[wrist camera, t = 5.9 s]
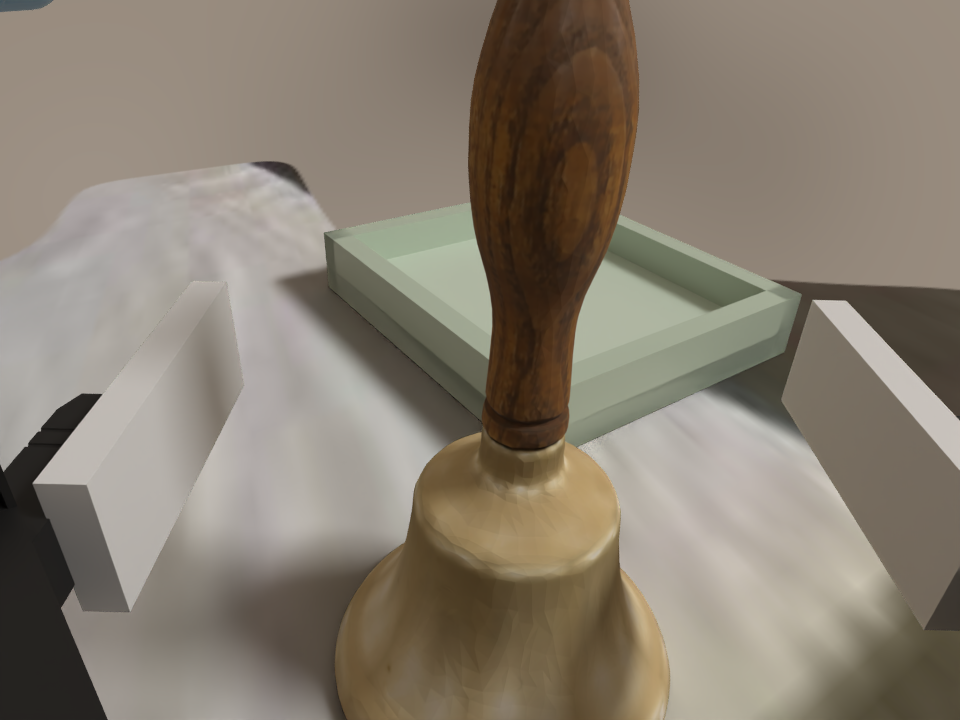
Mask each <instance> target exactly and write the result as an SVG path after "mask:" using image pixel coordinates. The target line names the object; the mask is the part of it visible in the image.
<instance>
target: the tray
mask: <svg viewBox="0 0 960 720" xmlns="http://www.w3.org/2000/svg"><path fill="white" fill-rule="evenodd" d="M324 239H325V250H326V262H327V273H328V285H329V287H330V288H331V289H332V290H333V291H334V292H335V293H336V294H338V295H339V296H340V297H341V298H342V299H343V300H344V301H346V302H347V303H348V304H349V305H350V306H351V307H352V308H353V309H355V310H356V311H357V312H358V313H359V314H360V315H361V316H363V317H364V318H365V319H366V320H367V321H368V322H369V323H371V324H372V325H373V326H374V327H375V328H376V329H377V330H378V331H380V332H381V333H382V334H383V335H384V336H385V337H386V338H388V339H389V340H390V341H391V342H392V343H393V344H394V345H395V346H397V347H398V348H399V349H400V350H401V351H402V352H403V353H405V354H406V355H407V356H408V357H409V358H410V359H411V360H412V361H414V362H415V363H416V364H417V365H418V366H419V367H420V368H422V369H423V370H424V371H425V372H426V373H427V374H428V375H429V376H431V377H432V378H433V379H434V380H435V381H436V382H437V383H439V384H440V385H441V386H442V387H443V388H444V389H445V390H446V391H448V392H449V393H450V394H451V395H452V396H453V397H454V398H456V399H457V400H458V401H459V402H460V403H461V404H462V405H463V406H465V407H466V408H467V409H468V410H469V411H470V412H471V413H473V414H474V415H475V416H476V417H477V418H478V419H479V420H481V421H482V410H483V403H484V401H485V398H486V393H485V389H486V381H487V373H488V365H489V354H490V344H491V334H492V306H491V298H490V292H489V287H488V282H487V277H486V273H485V270H484V266H483V263H482V259H481V256H480V252H479V249H478V245H477V241H476V236H475V231H474V226H473V219H472V211H471V203H466V204H461V205H456V206H451V207H446V208H442V209H437V210H432V211H427V212H422V213H417V214H412V215H408V216H403V217H398V218H393V219H388V220H384V221H378V222H373V223H369V224H364V225H359V226H354V227H349V228H344V229H339V230H335V231H330V232H325V233H324ZM801 296H802V294H800V293H798V292H795V291H793V290H791V289H788V288H786V287H784V286H782V285H779V284H777V283H775V282H772V281H770V280H768V279H766V278H763V277H761V276H759V275H756V274H754V273H752V272H750V271H747V270H745V269H743V268H740V267H738V266H736V265H733V264H731V263H729V262H726V261H724V260H722V259H720V258H717V257H715V256H713V255H710V254H708V253H706V252H704V251H701V250H699V249H697V248H695V247H692V246H690V245H688V244H685V243H683V242H681V241H679V240H676V239H674V238H672V237H669V236H667V235H665V234H663V233H660V232H658V231H656V230H653V229H650V228H649V227H646V226H644V225H642V224H640V223H637V222H635V221H633V220H630V219H628V218H626V217H624V216H621V215H619V218H618V222H617V225H616V228H615V230H614V233H613V236H612V239H611V242H610V244H609V247H608V250H607V252H606V254H605V256H604V258H603V260H602V263H601V265H600V267H599V269H598V271H597V273H596V275H595V277H594V279H593V281H592V283H591V285H590V287H589V289H588V291H587V293H586V295H585V298H584V301H583V304H582V307H581V310H580V313H579V316H578V321H577V326H576V332H575V341H574V350H573V362H572V376H571V389H570V400H569V403H568V407H569V415H570V416H569V424H568V429H567V432H566V433H565V442H567V443H570V444H572V445H574V446H575V447H578V446H580V445H582V444H584V443H586V442H588V441H591V440H593V439H595V438H597V437H599V436H602V435H604V434H606V433H608V432H610V431H613V430H615V429H617V428H619V427H621V426H624V425H626V424H628V423H630V422H632V421H634V420H637V419H639V418H641V417H643V416H645V415H648V414H650V413H652V412H654V411H656V410H659V409H661V408H663V407H665V406H667V405H670V404H672V403H674V402H676V401H678V400H681V399H683V398H685V397H687V396H689V395H691V394H694V393H696V392H698V391H700V390H702V389H705V388H707V387H709V386H711V385H713V384H716V383H718V382H720V381H722V380H724V379H727V378H729V377H731V376H733V375H735V374H738V373H740V372H742V371H744V370H746V369H748V368H751V367H753V366H755V365H757V364H759V363H762V362H764V361H766V360H768V359H770V358H773V357H775V356H777V355H779V354H781V353H784V352H785V348H786V345H787V342H788V338H789V335H790V332H791V329H792V325H793V322H794V319H795V315H796V312H797V309H798V305H799V302H800V299H801Z"/></svg>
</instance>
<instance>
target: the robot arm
mask: <svg viewBox="0 0 960 720" xmlns="http://www.w3.org/2000/svg"><path fill="white" fill-rule="evenodd" d="M52 1H53V0H0V12H5V11H21V10H34V9H39V8H42V7H44V6H46V5H48V4H50V3H51V2H52ZM243 386H244V381H243V375H242V369H241V363H240V357H239V352H238V346H237V340H236V334H235V328H234V322H233V316H232V310H231V305H230V299H229V293H228V287H227V282H209V281H192V282H191V283H190V284H189V285H188V287H187V288H186V289H185V290H184V292H183V293H182V294H181V295H180V297H179V298H178V299H177V301H176V302H175V303H174V304H173V306H172V307H171V308H170V309H169V311H168V312H167V313H166V315H165V316H164V317H163V318H162V320H161V321H160V322H159V323H158V325H157V326H156V327H155V329H154V330H153V331H152V332H151V334H150V335H149V336H148V337H147V339H146V340H145V341H144V342H143V344H142V345H141V346H140V348H139V349H138V350H137V351H136V353H135V354H134V355H133V356H132V358H131V359H130V360H129V362H128V363H127V364H126V365H125V367H124V368H123V369H122V370H121V372H120V373H119V374H118V375H117V377H116V378H115V379H114V381H113V382H112V383H111V384H110V386H109V387H108V388H107V389H106V391H105V392H104V393H103V394H81V395H79V396H77V397H76V398H74V399H73V400H71V401H70V402H68V403H66V404H65V405H63V406H62V407H60V408H59V409H57V410H56V411H55V412H54V414H53V415H52V416H51V417H50V418H49V419H48V421H47V422H46V423H45V424H44V425H43V426H42V428H41V432H37V433H36V435H35V436H34V437H33V438H32V439H31V440H30V442H29V443H28V447H24V449H23V450H22V451H21V452H20V453H19V454H18V456H17V457H16V458H15V459H14V460H13V461H12V463H11V464H10V465H9V466H8V467H7V468H6V470H5V471H4V472H3V470H2V468H1V465H0V720H108V719H107V717H106V715H105V712H104V710H103V707H102V705H101V703H100V700H99V698H98V696H97V693H96V691H95V688H94V686H93V684H92V681H91V679H90V677H89V674H88V672H87V670H86V667H85V665H84V662H83V660H82V658H81V655H80V653H79V651H78V648H77V646H76V643H75V641H74V639H73V636H72V634H71V632H70V629H69V627H68V624H67V622H66V620H65V617H64V615H63V613H62V610H61V607H62V605H63V604H64V602H65V600H66V599H67V597H68V595H69V594H70V592H71V590H72V589H73V587H74V590H75V592H76V595H77V598H78V600H79V603H80V605H81V608H82V610H83V611H99V612H131V610H132V608H133V606H134V604H135V602H136V600H137V598H138V596H139V594H140V592H141V590H142V588H143V586H144V584H145V582H146V580H147V578H148V576H149V574H150V572H151V570H152V568H153V566H154V564H155V562H156V560H157V558H158V556H159V554H160V552H161V550H162V548H163V546H164V544H165V542H166V540H167V538H168V536H169V534H170V532H171V530H172V528H173V526H174V524H175V522H176V520H177V518H178V516H179V514H180V512H181V510H182V508H183V506H184V504H185V502H186V500H187V498H188V496H189V494H190V492H191V490H192V488H193V486H194V484H195V482H196V480H197V478H198V476H199V474H200V472H201V470H202V468H203V466H204V464H205V462H206V460H207V458H208V456H209V454H210V452H211V450H212V448H213V446H214V444H215V442H216V440H217V438H218V436H219V434H220V432H221V430H222V428H223V426H224V424H225V422H226V420H227V418H228V416H229V414H230V412H231V410H232V408H233V406H234V404H235V402H236V400H237V398H238V396H239V394H240V392H241V390H242V388H243ZM781 401H782V402H783V404H784V406H785V407H786V409H787V410H788V412H789V414H790V415H791V417H792V418H793V420H794V422H795V423H796V425H797V427H798V428H799V430H800V431H801V433H802V435H803V436H804V438H805V439H806V441H807V443H808V444H809V446H810V447H811V449H812V451H813V452H814V454H815V456H816V457H817V459H818V460H819V462H820V464H821V465H822V467H823V468H824V470H825V472H826V473H827V475H828V476H829V478H830V480H831V481H832V483H833V485H834V486H835V488H836V489H837V491H838V493H839V494H840V496H841V497H842V499H843V501H844V502H845V504H846V505H847V507H848V509H849V510H850V512H851V514H852V515H853V517H854V518H855V520H856V522H857V523H858V525H859V526H860V528H861V530H862V531H863V533H864V534H865V536H866V538H867V539H868V541H869V543H870V544H871V546H872V547H873V549H874V551H875V552H876V554H877V555H878V557H879V559H880V560H881V562H882V563H883V565H884V567H885V568H886V570H887V572H888V573H889V575H890V576H891V578H892V580H893V581H894V583H895V584H896V586H897V588H898V589H899V591H900V592H901V594H902V596H903V597H904V599H905V601H906V602H907V604H908V605H909V607H910V609H911V610H912V612H913V613H914V615H915V617H916V618H917V620H918V621H919V623H920V625H921V626H922V628H923V630H951V631H960V416H955V415H954V414H953V413H952V412H951V411H950V410H949V409H948V408H947V407H946V406H945V405H944V403H943V402H942V401H941V400H940V399H939V398H938V397H937V396H936V395H935V394H934V393H933V392H932V391H931V390H930V389H929V388H928V387H927V386H926V384H925V383H924V382H923V381H922V380H921V379H920V378H919V377H918V376H917V375H916V374H915V373H914V372H913V371H912V370H911V369H910V368H909V367H908V366H907V364H906V363H905V362H904V361H903V360H902V359H901V358H900V357H899V356H898V355H897V354H896V353H895V352H894V351H893V350H892V349H891V348H890V347H889V345H888V344H887V343H886V342H885V341H884V340H883V339H882V338H881V337H880V336H879V335H878V334H877V333H876V332H875V331H874V330H873V329H872V328H871V327H870V325H869V324H868V323H867V322H866V321H865V320H864V319H863V318H862V317H861V316H860V315H859V314H858V313H857V312H856V311H855V310H854V309H853V308H852V306H851V305H850V304H849V303H848V302H847V301H830V300H812V304H811V307H810V310H809V313H808V316H807V319H806V323H805V326H804V329H803V332H802V335H801V338H800V342H799V345H798V348H797V351H796V354H795V358H794V361H793V364H792V367H791V370H790V373H789V377H788V380H787V383H786V386H785V389H784V392H783V396H782V399H781Z"/></svg>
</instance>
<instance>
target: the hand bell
mask: <svg viewBox="0 0 960 720" xmlns="http://www.w3.org/2000/svg"><path fill="white" fill-rule="evenodd" d="M638 113H639V73H638V61H637V50H636V41H635V33H634V27H633V22H632V16H631V11H630V5H629V0H497V3H496V6H495V9H494V12H493V14H492V17H491V20H490V23H489V26H488V30H487V33H486V37H485V40H484V43H483V47H482V50H481V54H480V58H479V62H478V66H477V70H476V74H475V78H474V85H473V91H472V97H471V107H470V123H469V153H468V156H469V157H468V169H469V170H468V171H469V187H470V201H471V211H472V219H473V226H474V231H475V236H476V241H477V245H478V249H479V252H480V256H481V259H482V263H483V266H484V270H485V273H486V277H487V282H488V287H489V292H490V298H491V306H492V334H491V344H490V354H489V365H488V373H487V381H486V389H485V393H486V398H485V401H484V403H483V410H482V423H483V428H482V432H479V433H476V434H473V435H469V436H466V437H463V438H461V439H458V440H456V441H454V442H453V443H451V444H449V445H448V446H446V447H445V448H443V449H442V450H441V451H440V452H439V453H437V454H436V455H435V456H434V457H433V458H432V459H431V460H430V461H429V462H428V463H427V464H426V466H425V468H424V469H423V471H422V473H421V475H420V477H419V479H418V481H417V483H416V485H415V489H414V495H413V506H412V513H411V518H410V524H409V528H408V533H407V538H406V541H405V543H404V544H402V545H400V546H399V547H398V548H396V549H395V550H394V551H392V552H391V553H390V554H388V555H387V556H386V557H385V558H384V559H383V560H382V561H381V562H380V563H379V564H378V565H377V566H376V567H375V568H374V569H373V570H372V571H371V572H370V573H369V575H368V576H367V577H366V579H365V580H364V581H363V583H362V584H361V586H360V587H359V589H358V590H357V591H356V593H355V594H354V596H353V598H352V600H351V601H350V603H349V605H348V607H347V609H346V612H345V614H344V616H343V619H342V622H341V625H340V629H339V633H338V637H337V643H336V652H335V678H336V684H337V690H338V696H339V699H340V702H341V705H342V709H343V711H344V714H345V716H346V719H347V720H664V718H665V714H666V709H667V704H668V698H669V688H670V668H669V661H668V656H667V651H666V647H665V643H664V640H663V636H662V634H661V631H660V628H659V626H658V623H657V621H656V619H655V616H654V614H653V612H652V610H651V608H650V606H649V605H648V603H647V601H646V600H645V598H644V596H643V594H642V593H641V592H640V590H639V589H638V588H637V586H636V585H635V583H634V582H633V581H632V580H631V579H630V577H629V576H628V575H627V574H626V573H625V572H624V571H623V570H622V569H621V568H620V563H619V532H620V519H621V510H620V505H619V500H618V497H617V494H616V491H615V489H614V487H613V485H612V483H611V481H610V479H609V478H608V476H607V475H606V473H605V472H604V471H603V469H602V468H601V467H600V466H599V465H598V464H597V463H596V462H595V461H594V460H593V459H592V458H591V457H590V456H589V455H587V454H586V453H584V452H583V451H581V450H580V449H578V448H577V447H575V446H574V445H572V444H570V443H567V442H565V433H566V432H567V429H568V424H569V416H570V415H569V407H568V403H569V400H570V389H571V376H572V362H573V350H574V341H575V332H576V326H577V321H578V316H579V313H580V310H581V307H582V304H583V301H584V298H585V295H586V293H587V291H588V289H589V287H590V285H591V283H592V281H593V279H594V277H595V275H596V273H597V271H598V269H599V267H600V265H601V263H602V260H603V258H604V256H605V254H606V252H607V250H608V247H609V244H610V242H611V239H612V236H613V233H614V230H615V228H616V225H617V222H618V218H619V215H620V211H621V207H622V203H623V200H624V196H625V192H626V188H627V183H628V177H629V173H630V167H631V162H632V157H633V152H634V144H635V138H636V132H637V122H638Z"/></svg>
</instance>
